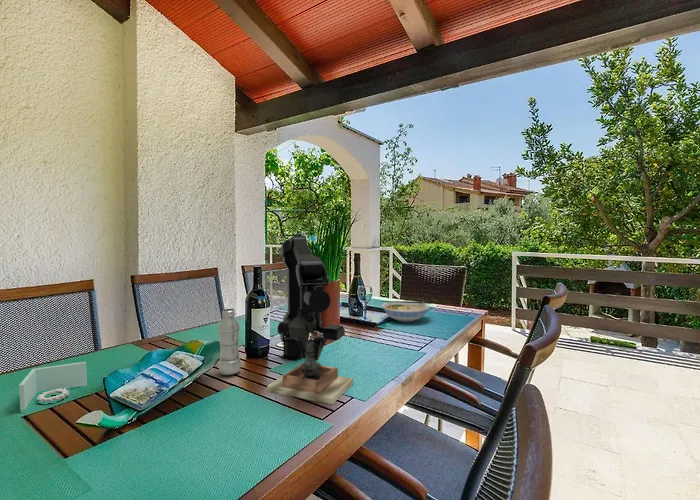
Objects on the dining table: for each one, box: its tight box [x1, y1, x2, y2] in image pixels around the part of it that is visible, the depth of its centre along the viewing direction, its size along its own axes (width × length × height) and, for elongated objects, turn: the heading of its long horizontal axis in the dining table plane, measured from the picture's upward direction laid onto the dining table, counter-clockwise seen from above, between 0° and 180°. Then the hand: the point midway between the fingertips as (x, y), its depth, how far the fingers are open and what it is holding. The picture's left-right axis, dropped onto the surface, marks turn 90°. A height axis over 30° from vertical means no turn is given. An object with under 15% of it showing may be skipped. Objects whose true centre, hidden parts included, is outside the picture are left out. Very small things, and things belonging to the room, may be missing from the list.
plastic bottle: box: [217, 308, 242, 376], centre depth 118 cm, size 6×7×20 cm
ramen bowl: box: [380, 300, 432, 323], centre depth 184 cm, size 25×23×8 cm
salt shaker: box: [301, 336, 322, 380], centre depth 108 cm, size 6×6×12 cm
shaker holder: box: [266, 361, 354, 405], centre depth 108 cm, size 20×14×4 cm
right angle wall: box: [18, 361, 88, 410], centre depth 101 cm, size 12×12×8 cm
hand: (310, 359), depth 108 cm, fingers closed on salt shaker, 4 cm apart
